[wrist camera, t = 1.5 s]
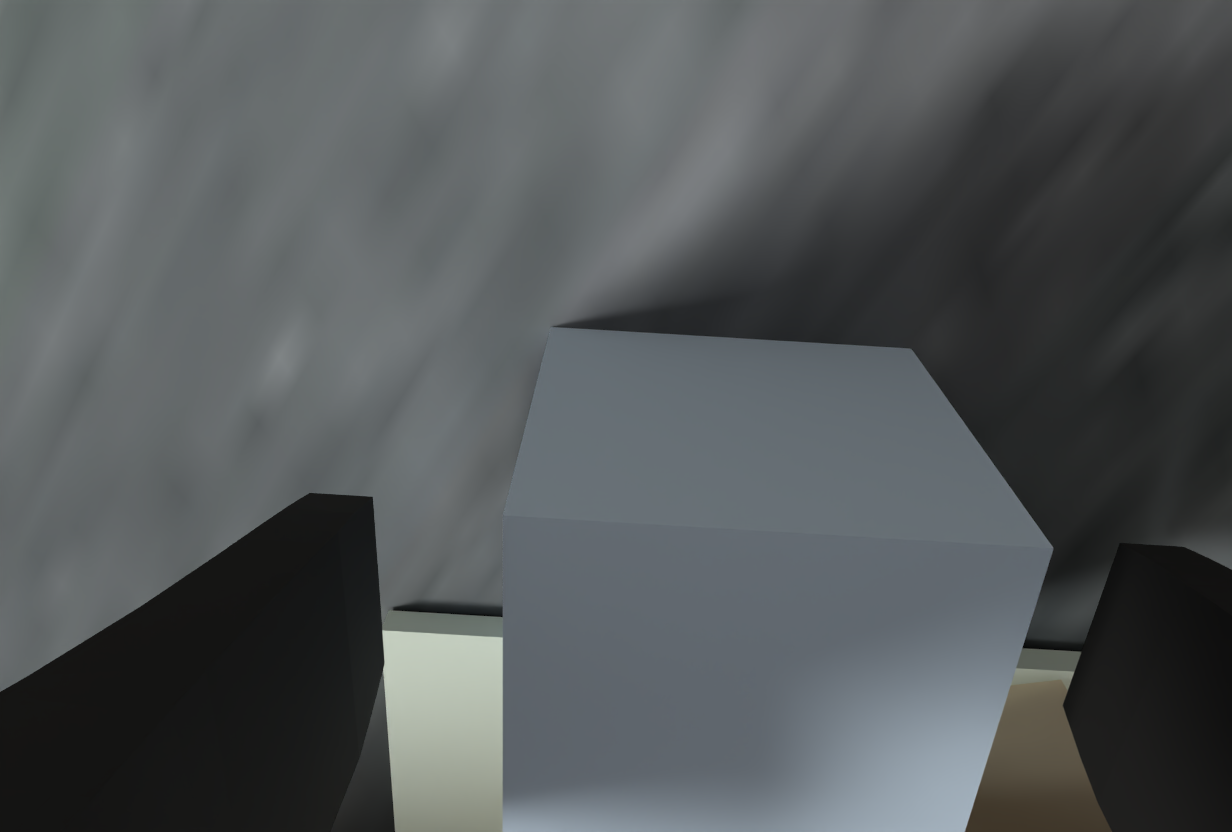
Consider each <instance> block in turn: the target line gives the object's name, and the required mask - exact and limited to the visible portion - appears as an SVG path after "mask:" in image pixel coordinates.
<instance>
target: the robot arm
mask: <svg viewBox="0 0 1232 832" xmlns="http://www.w3.org/2000/svg"><path fill="white" fill-rule="evenodd" d="M384 664H385V661H384V647H383V634H382V620H381V606H380V592H379V578H378V564H377V551H376V537H375V523H374V509H373V497H366V496H350V495H334V494H317V493H309V494H307V495H306V496H304V497H302V498H301V499H299V500H297V501H296V502H294V503H293V504H291V505H289V506H288V507H286V508H285V509H283V510H282V511H280V512H279V513H277V514H276V515H274V516H273V517H271V518H270V519H269V520H267V521H266V522H264V523H263V524H261V525H260V526H258V527H257V528H255V529H254V530H253V531H251V532H250V533H248V534H247V535H245V536H244V537H242V538H241V539H240V540H238V541H237V542H235V543H234V544H232V545H231V546H229V547H228V548H227V549H225V550H224V551H222V552H221V553H219V554H218V555H216V556H215V557H214V558H212V559H211V560H209V561H208V562H206V563H205V564H203V565H202V566H200V567H199V568H197V569H196V570H194V571H193V572H191V573H190V574H188V575H187V576H185V577H184V578H182V579H181V580H179V581H178V582H176V583H175V584H174V585H172V586H171V587H169V588H168V589H166V590H165V591H163V592H162V593H160V594H159V595H157V596H156V597H154V598H153V599H151V600H150V601H148V602H147V603H145V604H144V605H142V606H141V607H139V608H138V609H136V610H134V611H133V612H131V613H130V614H128V615H126V616H125V617H123V618H121V619H120V620H118V621H117V622H115V623H113V624H112V625H110V626H108V627H107V628H105V629H104V630H102V631H100V632H99V633H97V634H95V635H94V636H92V637H91V638H89V639H87V640H86V641H84V642H83V643H81V644H79V645H78V646H76V647H74V648H73V649H71V650H70V651H68V652H66V653H65V654H63V655H61V656H60V657H58V658H57V659H55V660H53V661H52V662H50V663H48V664H47V665H45V666H44V667H42V668H40V669H39V670H37V671H35V672H34V673H32V674H31V675H29V676H27V677H26V678H24V679H22V680H20V681H19V682H17V683H15V684H13V685H12V686H10V687H8V688H6V689H5V690H3V691H1V692H0V832H330V830H331V827H332V825H333V823H334V820H335V818H336V815H337V813H338V810H339V808H340V805H341V803H342V800H343V798H344V795H345V793H346V790H347V788H348V785H349V783H350V780H351V778H352V775H353V772H354V770H355V767H356V765H357V762H358V760H359V757H360V753H361V750H362V746H363V743H364V739H365V736H366V732H367V728H368V725H369V721H370V718H371V714H372V710H373V706H374V703H375V699H376V695H377V691H378V687H379V683H380V679H381V675H382V671H383V668H384ZM1063 708H1064V711H1065V714H1066V717H1067V720H1068V723H1069V726H1070V728H1071V731H1072V734H1073V737H1074V740H1075V743H1076V746H1077V749H1078V752H1079V755H1080V758H1081V761H1082V763H1083V766H1084V768H1085V771H1086V774H1087V776H1088V779H1089V781H1090V784H1091V787H1092V789H1093V792H1094V794H1095V797H1096V800H1097V802H1098V804H1099V806H1100V808H1101V810H1102V812H1103V814H1104V817H1105V819H1106V821H1107V823H1108V825H1109V827H1110V829H1111V831H1112V832H1232V570H1231V569H1229V568H1227V567H1225V566H1223V565H1221V564H1219V563H1217V562H1215V561H1213V560H1211V559H1209V558H1207V557H1205V556H1203V555H1200V554H1198V553H1196V552H1194V551H1192V550H1189V549H1187V548H1185V547H1176V546H1160V545H1143V544H1127V543H1120V544H1119V547H1118V550H1117V553H1116V556H1115V559H1114V561H1113V564H1112V567H1111V570H1110V573H1109V575H1108V578H1107V581H1106V584H1105V587H1104V590H1103V592H1102V595H1101V598H1100V601H1099V604H1098V607H1097V609H1096V612H1095V615H1094V618H1093V621H1092V624H1091V626H1090V629H1089V632H1088V635H1087V638H1086V641H1085V643H1084V646H1083V649H1082V652H1081V655H1080V657H1079V660H1078V663H1077V666H1076V669H1075V672H1074V674H1073V677H1072V680H1071V683H1070V686H1069V689H1068V691H1067V694H1066V697H1065V700H1064V703H1063Z"/></svg>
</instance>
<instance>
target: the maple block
mask: <svg viewBox="0 0 1232 832" xmlns="http://www.w3.org/2000/svg"><path fill="white" fill-rule="evenodd" d="M1067 691H1068V690H1067V689H1066V687H1065V685H1064V684H1063V682H1062V680H1053V681H1044V682H1035V683H1027V684H1018V685H1011V686H1010V689H1009V692H1008V696H1007V699H1006V702H1005V705H1004V708H1003V712H1002V715H1001V718H1000V721H999V724H998V727H997V731H996V734H995V737H994V740H993V743H992V747H991V750H990V753H989V756H988V759H987V763H986V766H985V769H984V772H983V775H982V779H981V782H980V785H979V788H978V791H977V794H976V798H975V801H974V804H973V807H972V810H971V814H970V817H969V820H968V823H967V826H966V830H965V832H1112V831H1111V829H1110V827H1109V825H1108V823H1107V821H1106V819H1105V817H1104V814H1103V812H1102V810H1101V808H1100V806H1099V804H1098V802H1097V800H1096V797H1095V794H1094V792H1093V789H1092V787H1091V784H1090V781H1089V779H1088V776H1087V774H1086V771H1085V768H1084V766H1083V763H1082V761H1081V758H1080V755H1079V752H1078V749H1077V746H1076V743H1075V740H1074V737H1073V734H1072V731H1071V728H1070V726H1069V723H1068V720H1067V717H1066V714H1065V711H1064V708H1063V703H1064V700H1065V697H1066V694H1067Z"/></svg>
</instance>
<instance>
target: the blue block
mask: <svg viewBox="0 0 1232 832" xmlns="http://www.w3.org/2000/svg"><path fill="white" fill-rule="evenodd" d="M1053 549H1054V548H1053V547H1052V545H1051V544H1050V542H1049V541H1048V540H1047V538H1046V537H1045V535H1044V534H1043V533H1042V531H1041V530H1040V528H1039V527H1038V526H1037V524H1036V523H1035V521H1034V520H1033V519H1032V517H1031V516H1030V514H1029V513H1028V512H1027V510H1026V509H1025V507H1024V506H1023V505H1022V503H1021V502H1020V500H1019V499H1018V498H1017V496H1016V495H1015V493H1014V492H1013V491H1012V489H1011V488H1010V486H1009V485H1008V484H1007V482H1006V481H1005V479H1004V478H1003V477H1002V475H1001V474H1000V472H999V471H998V470H997V468H996V467H995V465H994V464H993V463H992V461H991V460H990V458H989V457H988V455H987V454H986V453H985V451H984V450H983V448H982V447H981V446H980V444H979V443H978V441H977V440H976V439H975V437H974V436H973V434H972V433H971V432H970V430H969V429H968V427H967V426H966V425H965V423H964V422H963V420H962V419H961V418H960V416H959V415H958V413H957V412H956V411H955V409H954V408H953V406H952V405H951V404H950V402H949V401H948V399H947V398H946V397H945V395H944V394H943V392H942V391H941V390H940V388H939V387H938V385H937V384H936V383H935V381H934V380H933V378H932V377H931V376H930V374H929V373H928V371H927V370H926V369H925V367H924V366H923V364H922V363H921V362H920V360H919V359H918V357H917V356H916V355H915V353H914V352H913V350H912V349H909V348H893V347H876V346H860V345H843V344H826V343H810V342H793V341H776V340H760V339H743V338H727V337H710V336H693V335H677V334H660V333H643V332H627V331H610V330H594V329H577V328H560V327H551V328H550V332H549V336H548V340H547V344H546V347H545V351H544V355H543V359H542V363H541V367H540V371H539V375H538V379H537V383H536V387H535V391H534V395H533V399H532V403H531V407H530V411H529V415H528V418H527V422H526V426H525V430H524V434H523V438H522V442H521V446H520V450H519V454H518V458H517V462H516V466H515V470H514V474H513V478H512V482H511V486H510V489H509V493H508V497H507V501H506V505H505V509H504V513H503V832H965V830H966V826H967V823H968V820H969V817H970V814H971V810H972V807H973V804H974V801H975V798H976V794H977V791H978V788H979V785H980V782H981V779H982V775H983V772H984V769H985V766H986V763H987V759H988V756H989V753H990V750H991V747H992V743H993V740H994V737H995V734H996V731H997V727H998V724H999V721H1000V718H1001V715H1002V712H1003V708H1004V705H1005V702H1006V699H1007V696H1008V692H1009V689H1010V686H1011V683H1012V680H1013V676H1014V673H1015V670H1016V667H1017V664H1018V660H1019V657H1020V654H1021V651H1022V648H1023V645H1024V641H1025V638H1026V635H1027V632H1028V629H1029V625H1030V622H1031V619H1032V616H1033V613H1034V609H1035V606H1036V603H1037V600H1038V597H1039V594H1040V590H1041V587H1042V584H1043V581H1044V578H1045V574H1046V571H1047V568H1048V565H1049V562H1050V558H1051V555H1052V552H1053Z"/></svg>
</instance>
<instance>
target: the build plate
mask: <svg viewBox="0 0 1232 832" xmlns="http://www.w3.org/2000/svg"><path fill="white" fill-rule="evenodd" d="M382 634H383V647H384V661H385V664H384V668H383V670H384V684H385V698H386V711H387V725H388V739H389V753H390V767H391V781H392V795H393V809H394V823H395V832H503V617H492V616H476V615H459V614H442V613H425V612H409V611H392V610H388V613H387V615H386V618H385V621H384V623H383V626H382ZM1080 655H1081V652H1077V651H1061V650H1044V649H1027V648H1022V651H1021V654H1020V657H1019V660H1018V664H1017V667H1016V670H1015V673H1014V676H1013V680H1012V683H1011V685H1018V684H1027V683H1035V682H1044V681H1053V680H1062V682H1063V684H1064V685H1065V687H1066V689H1067V690H1068V689H1069V686H1070V683H1071V680H1072V677H1073V674H1074V672H1075V669H1076V666H1077V663H1078V660H1079V657H1080Z"/></svg>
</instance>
